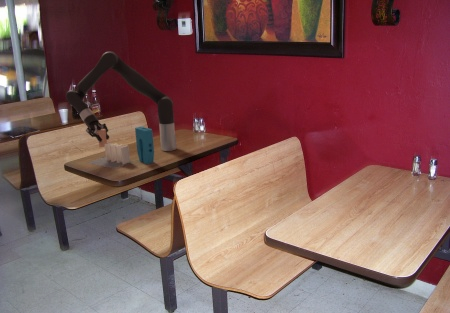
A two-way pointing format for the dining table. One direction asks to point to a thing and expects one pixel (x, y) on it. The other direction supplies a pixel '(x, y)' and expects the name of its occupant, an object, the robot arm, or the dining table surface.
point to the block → (145, 144)
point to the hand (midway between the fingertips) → (104, 139)
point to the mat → (107, 163)
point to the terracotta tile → (102, 137)
